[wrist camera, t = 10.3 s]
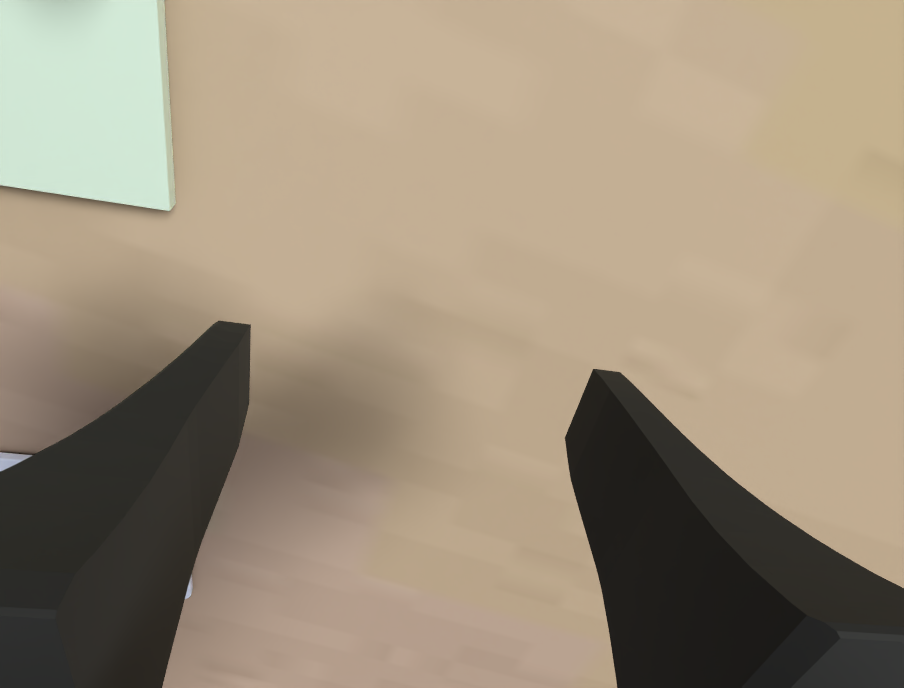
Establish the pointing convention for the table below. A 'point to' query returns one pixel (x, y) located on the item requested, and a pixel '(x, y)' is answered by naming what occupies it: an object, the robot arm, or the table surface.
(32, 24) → the tub lid
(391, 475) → the table surface
